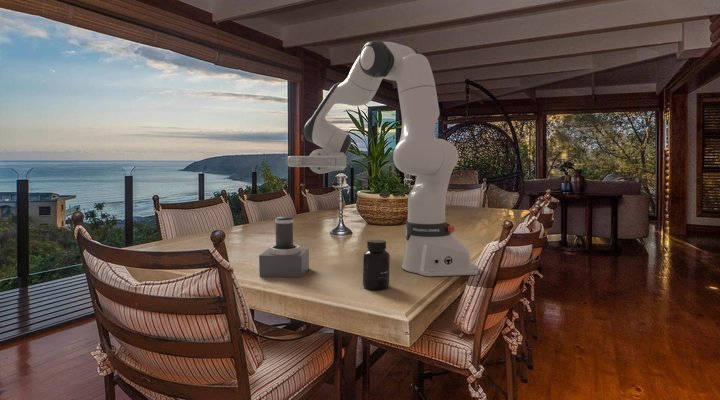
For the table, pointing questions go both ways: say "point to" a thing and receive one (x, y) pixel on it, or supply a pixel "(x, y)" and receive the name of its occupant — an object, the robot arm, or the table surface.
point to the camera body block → (284, 262)
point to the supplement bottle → (376, 266)
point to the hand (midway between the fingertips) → (313, 161)
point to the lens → (284, 232)
